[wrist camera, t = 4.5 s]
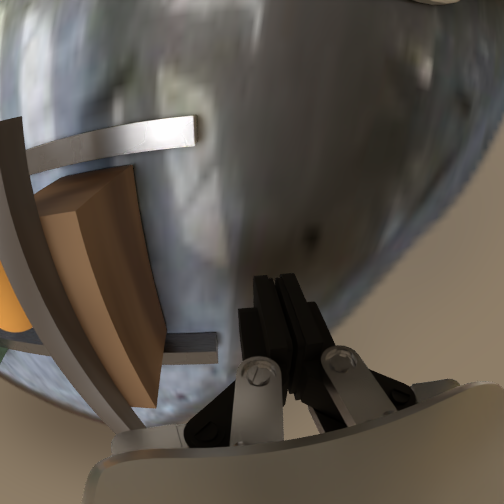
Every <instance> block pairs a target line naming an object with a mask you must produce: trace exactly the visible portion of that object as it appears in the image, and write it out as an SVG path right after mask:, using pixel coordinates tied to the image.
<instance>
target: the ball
mask: <svg viewBox="0 0 504 504" xmlns="http://www.w3.org/2000/svg"><path fill="white" fill-rule="evenodd" d="M32 327H33V326H32V325H31V323H30V321H29V319H28V318H27V316H26V314H25V312H24V310H23V308H22V307H21V305H20V303H19V301H18V299H17V297H16V295H15V293H14V291H13V288H12V286H11V284H10V282H9V280H8V277H7V275H6V273H5V271H4V268H3V266H2V263H1V261H0V328H1V329H3V330H5V331H8V332H23V331H26V330H29V329H31V328H32Z"/></svg>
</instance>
